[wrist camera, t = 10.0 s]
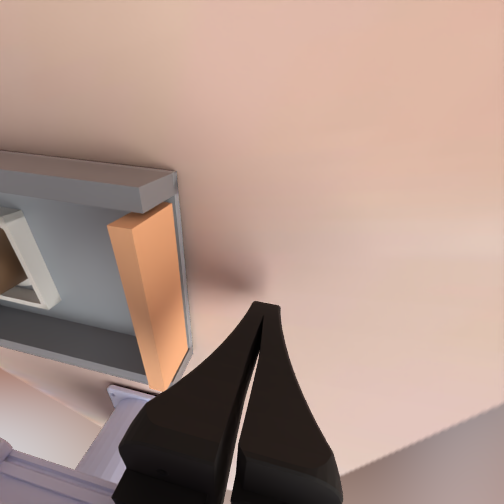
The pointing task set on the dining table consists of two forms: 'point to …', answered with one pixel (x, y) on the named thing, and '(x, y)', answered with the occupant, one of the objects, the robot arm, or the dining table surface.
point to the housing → (77, 259)
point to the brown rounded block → (9, 265)
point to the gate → (152, 289)
